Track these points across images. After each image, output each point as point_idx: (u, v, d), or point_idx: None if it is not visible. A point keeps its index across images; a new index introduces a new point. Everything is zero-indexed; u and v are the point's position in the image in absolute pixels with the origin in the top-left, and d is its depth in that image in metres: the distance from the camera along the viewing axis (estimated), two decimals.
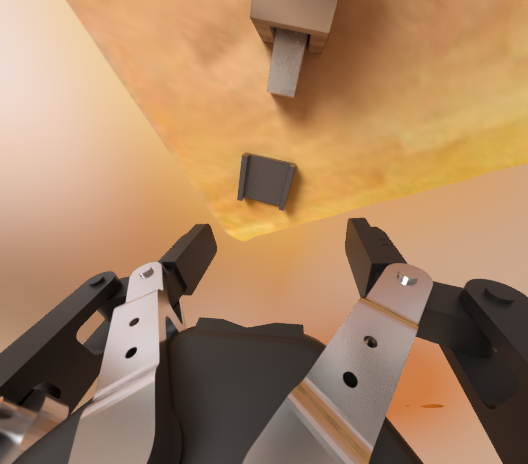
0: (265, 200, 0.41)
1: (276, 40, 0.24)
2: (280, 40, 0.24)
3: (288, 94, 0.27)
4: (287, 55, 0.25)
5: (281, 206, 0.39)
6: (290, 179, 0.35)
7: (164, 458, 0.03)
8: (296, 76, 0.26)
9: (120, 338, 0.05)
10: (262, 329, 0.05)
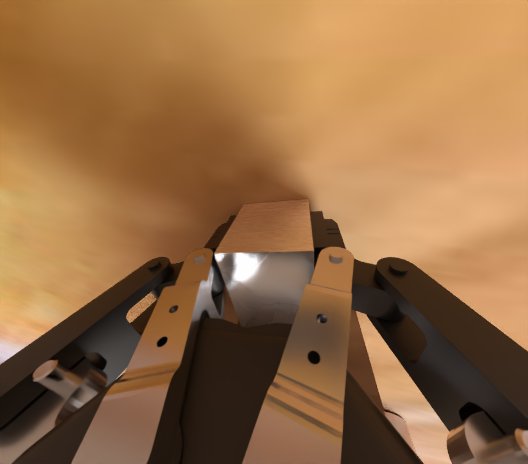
0: None
1: None
2: None
3: (232, 255, 0.08)
4: (273, 317, 0.09)
5: None
6: None
7: None
8: (231, 291, 0.09)
9: (158, 322, 0.05)
10: (262, 329, 0.05)
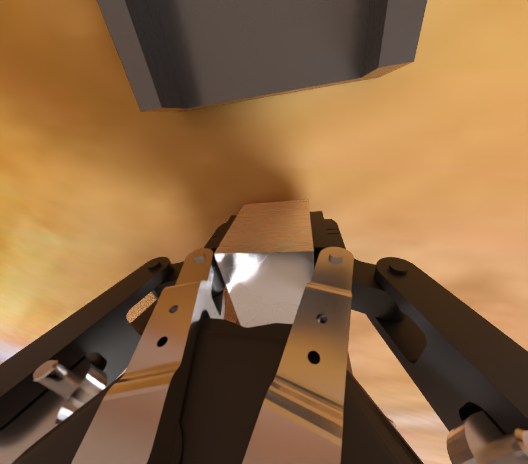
0: None
1: None
2: None
3: (232, 256, 0.08)
4: (273, 318, 0.09)
5: None
6: (116, 33, 0.07)
7: None
8: (231, 291, 0.09)
9: (158, 322, 0.05)
10: (262, 329, 0.05)
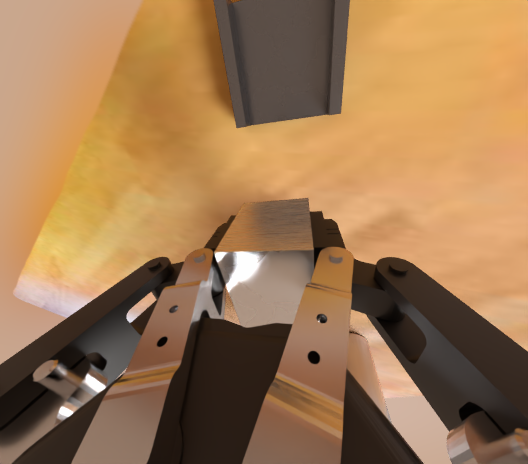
0: (271, 0, 0.15)
1: None
2: None
3: (232, 254, 0.08)
4: (272, 317, 0.09)
5: (222, 8, 0.15)
6: (234, 100, 0.18)
7: None
8: (231, 290, 0.09)
9: (159, 322, 0.05)
10: (262, 329, 0.05)
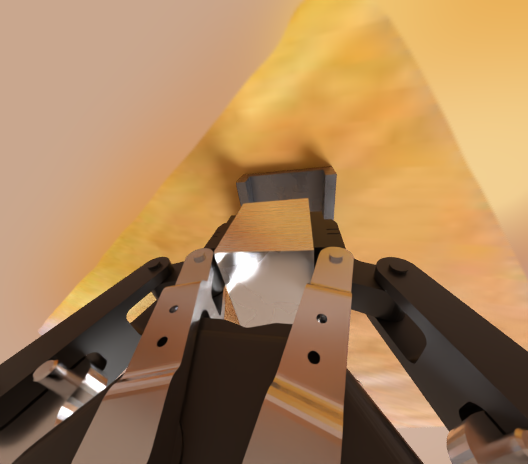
0: (278, 177, 0.21)
1: None
2: None
3: (232, 255, 0.08)
4: (272, 317, 0.09)
5: (243, 190, 0.20)
6: None
7: None
8: (231, 290, 0.09)
9: (158, 322, 0.05)
10: (262, 329, 0.05)
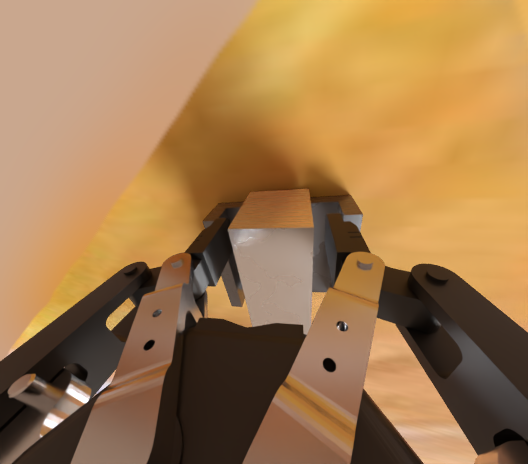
0: None
1: (306, 305, 0.11)
2: (297, 306, 0.11)
3: (244, 231, 0.09)
4: (274, 290, 0.11)
5: None
6: (228, 289, 0.16)
7: None
8: (240, 265, 0.10)
9: (142, 327, 0.05)
10: (262, 329, 0.05)
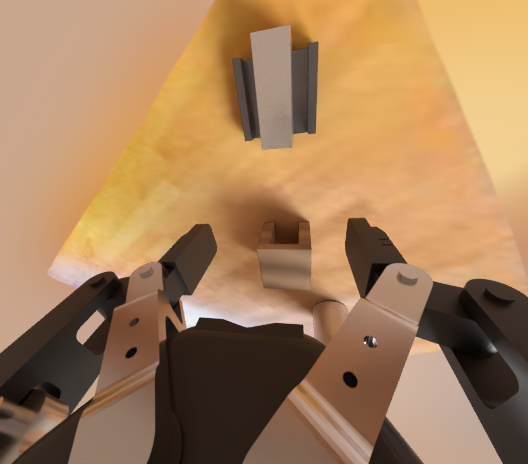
0: None
1: (288, 93, 0.21)
2: (283, 95, 0.21)
3: (257, 33, 0.19)
4: (272, 83, 0.21)
5: (238, 67, 0.23)
6: (244, 122, 0.26)
7: (164, 458, 0.03)
8: (254, 62, 0.20)
9: (120, 338, 0.05)
10: (261, 329, 0.05)
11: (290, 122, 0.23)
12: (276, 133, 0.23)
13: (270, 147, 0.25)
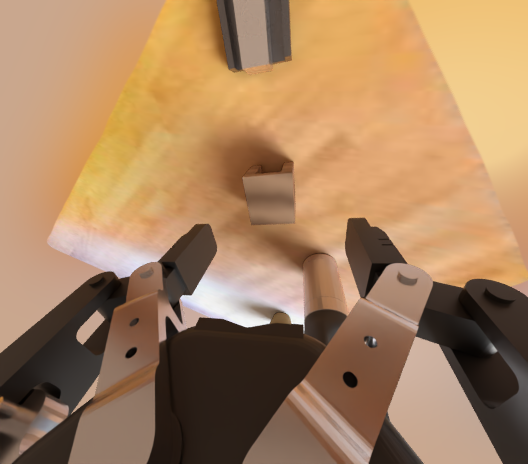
0: None
1: (262, 6, 0.24)
2: (258, 9, 0.24)
3: None
4: None
5: None
6: (226, 49, 0.29)
7: (164, 458, 0.03)
8: None
9: (120, 338, 0.05)
10: (262, 329, 0.05)
11: (265, 37, 0.25)
12: (254, 49, 0.26)
13: (249, 65, 0.27)
